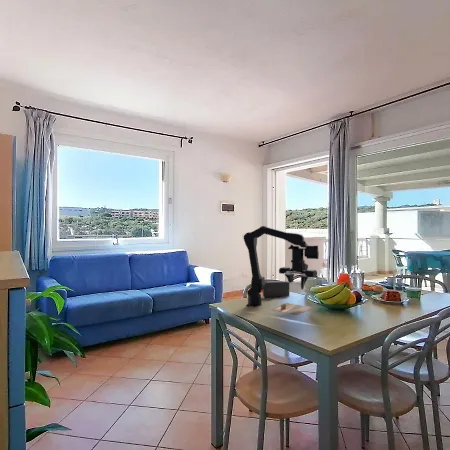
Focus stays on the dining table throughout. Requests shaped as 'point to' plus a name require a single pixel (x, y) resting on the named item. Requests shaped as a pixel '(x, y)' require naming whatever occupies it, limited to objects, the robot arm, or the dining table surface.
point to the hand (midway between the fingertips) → (297, 288)
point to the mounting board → (291, 308)
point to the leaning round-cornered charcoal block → (276, 289)
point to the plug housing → (296, 287)
